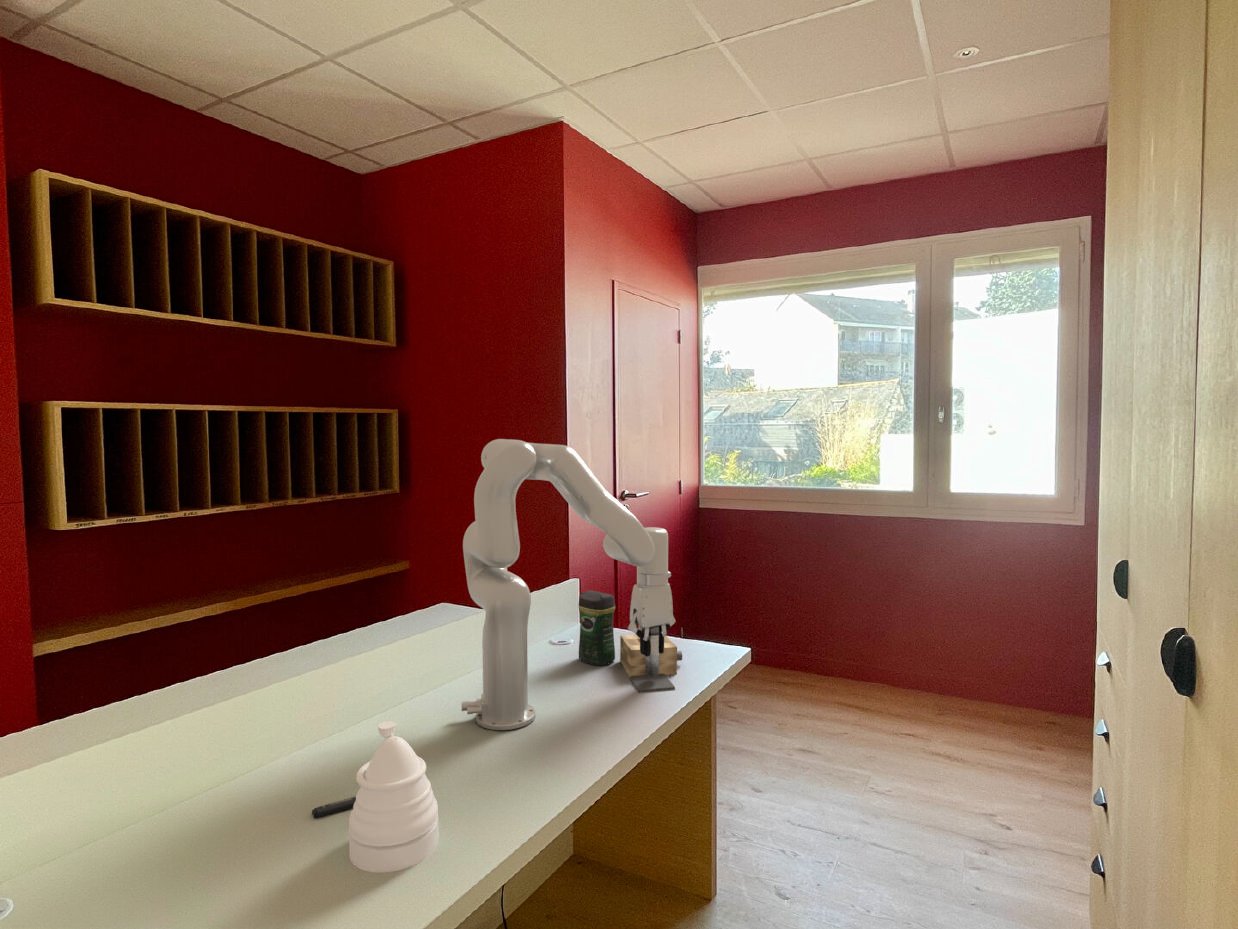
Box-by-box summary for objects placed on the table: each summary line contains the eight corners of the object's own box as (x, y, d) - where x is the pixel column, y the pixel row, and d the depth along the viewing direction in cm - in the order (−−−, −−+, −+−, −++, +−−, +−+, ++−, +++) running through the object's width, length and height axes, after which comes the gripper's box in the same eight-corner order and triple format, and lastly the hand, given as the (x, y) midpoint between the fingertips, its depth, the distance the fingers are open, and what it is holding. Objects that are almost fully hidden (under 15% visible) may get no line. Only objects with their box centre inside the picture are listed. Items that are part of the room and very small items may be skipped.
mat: (638, 692, 162) (638, 690, 162) (629, 678, 171) (629, 676, 171) (674, 689, 164) (674, 687, 164) (664, 675, 173) (664, 673, 173)
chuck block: (630, 677, 171) (631, 650, 171) (620, 661, 183) (620, 635, 183) (688, 673, 175) (688, 646, 174) (674, 657, 186) (674, 632, 186)
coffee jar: (620, 660, 184) (620, 592, 182) (599, 668, 178) (600, 598, 176) (593, 652, 190) (593, 586, 189) (573, 660, 184) (573, 591, 183)
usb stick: (371, 797, 117) (371, 789, 117) (375, 805, 115) (375, 796, 115) (311, 815, 112) (311, 806, 112) (314, 823, 110) (314, 813, 110)
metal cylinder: (642, 673, 168) (642, 625, 167) (653, 670, 170) (653, 622, 169) (651, 677, 165) (651, 628, 164) (661, 674, 167) (662, 625, 166)
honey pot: (335, 844, 104) (332, 728, 103) (413, 810, 113) (411, 704, 112) (372, 885, 95) (370, 759, 94) (454, 845, 104) (453, 729, 103)
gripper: (670, 572, 173) (669, 643, 175) (615, 580, 164) (615, 655, 166) (689, 577, 167) (688, 651, 168) (632, 586, 158) (632, 664, 159)
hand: (652, 652), depth 167 cm, fingers closed on metal cylinder, 3 cm apart
